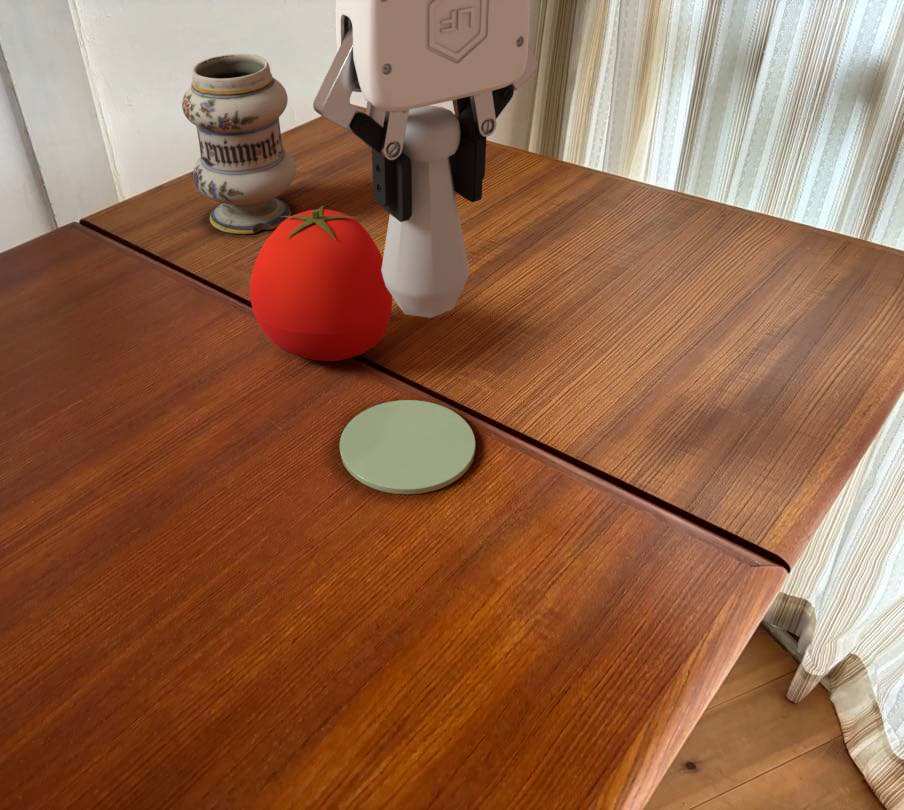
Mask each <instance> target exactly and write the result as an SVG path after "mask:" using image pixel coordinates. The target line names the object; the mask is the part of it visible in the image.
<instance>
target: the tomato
mask: <svg viewBox="0 0 904 810" xmlns="http://www.w3.org/2000/svg"><path fill="white" fill-rule="evenodd" d="M279 217H289V218H287V219H286V220H285V221H283V222H282V223H281V224H280V225H279V226H278V227H277V228H275V229H274V231H272V233H271V234H269V236H268V237H267V238H266V240H265V241H264V242H263V245H262V247H261V249H260V251H259V252H258V255H257V257H256V259H255V262H254V266H253V268H252V272H251V276H250V285H249V286H250V287H249V299H250V303H251V308H252V312H253V316H254V317H255V320H256V322H257V324H258V326H259V327H260V329H261V330H262V332H263V333H264V334H265V335H266V337H267V338H268V339H269V340H270V341H271V342H272V343H273V344H274V345H275V346H277V347H278V348H280V349H281V350H282V351H284V352H287V353H288V354H290V355H294V356H296V357H301V358H304V359H309V360H313V361H320V362H336V361H342V360H347V359H351V358H354V357H357V356H360V355H363V354H364V353H366V352H368V351H370V350H371V349H373V348H374V347H376V346H377V345H378V344H379V343H380V341H381V340H382V339H383V337H384V335H385V334H386V333H387V331H388V327H389V324H390V320H391V316H392V307H393V296H392V295H391V293H390V292H389V290H388V289H387V287H386V285H385V282H384V279H383V275H382V271H381V269H382V262H383V256H382V253H381V251H380V249H379V248H378V246H377V244H376V243H375V241H374V239H373V238H372V236H371V234H370V233H369V231H367V230H366V228H365V227H364V226H363V225H362V224H361V223H360V221H358V220H357V219H358V218H359V216H351V215H349V214H347V213H344V212H341V211H337V210H333V209H327V208H326V209H324V205H322V206H320V207H319V208H318V209H317V208H316V209H309V210H305V211H301V212H299V213H296V214H293V215H290V216H279Z"/></svg>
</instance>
